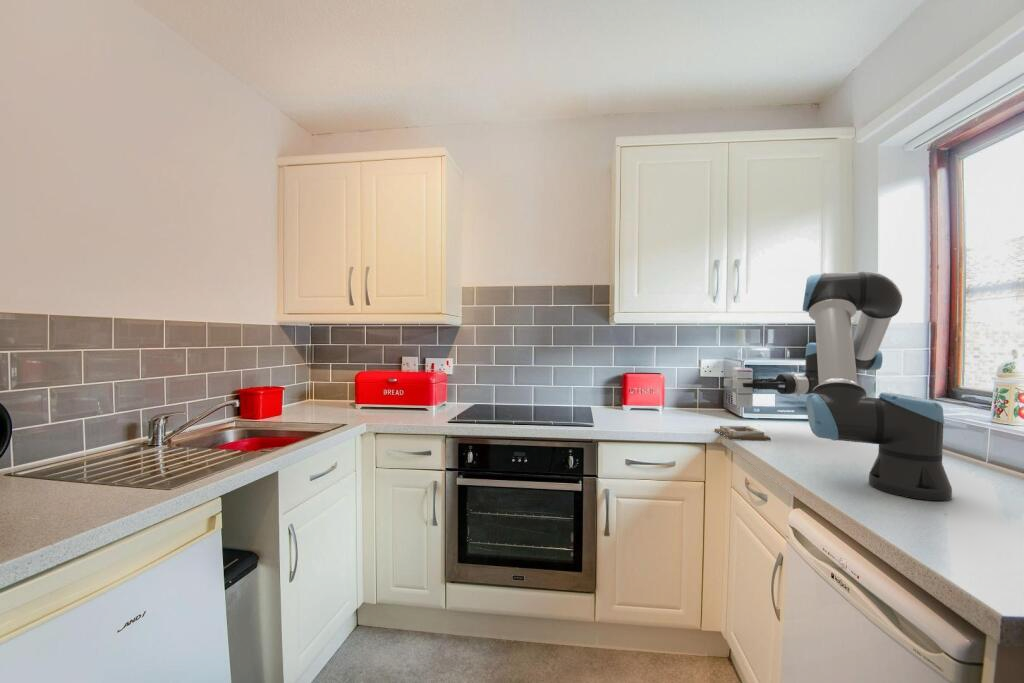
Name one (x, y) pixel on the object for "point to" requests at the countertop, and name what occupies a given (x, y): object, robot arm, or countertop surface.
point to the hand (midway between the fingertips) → (728, 383)
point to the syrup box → (738, 394)
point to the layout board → (742, 433)
